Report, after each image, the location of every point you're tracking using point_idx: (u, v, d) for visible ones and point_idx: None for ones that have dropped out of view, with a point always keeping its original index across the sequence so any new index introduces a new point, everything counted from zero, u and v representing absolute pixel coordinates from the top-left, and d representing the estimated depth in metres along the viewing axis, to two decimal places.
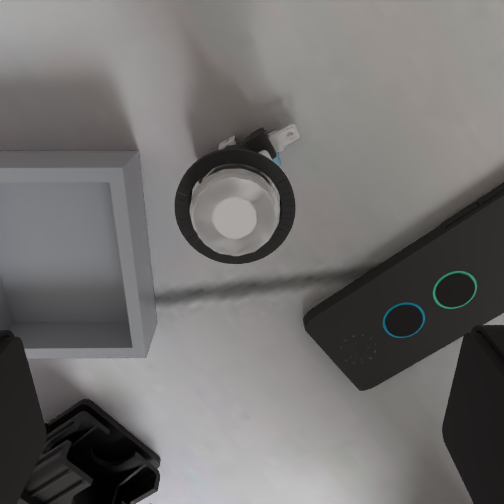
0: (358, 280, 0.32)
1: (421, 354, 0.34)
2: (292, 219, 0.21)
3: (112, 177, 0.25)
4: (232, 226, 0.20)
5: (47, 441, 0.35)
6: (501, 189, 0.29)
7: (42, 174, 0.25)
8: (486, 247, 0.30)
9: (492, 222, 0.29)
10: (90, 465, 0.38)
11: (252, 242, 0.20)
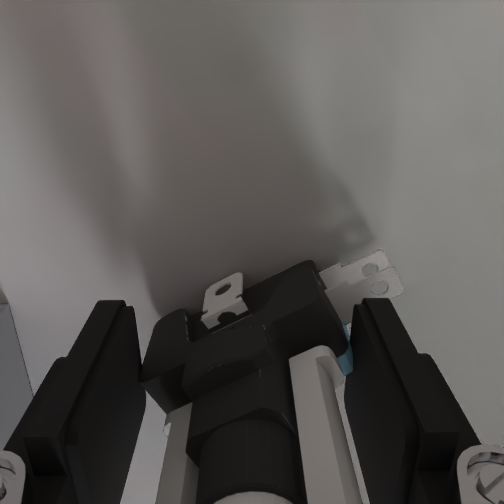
0: None
1: None
2: None
3: None
4: None
5: None
6: None
7: None
8: None
9: None
10: None
11: None
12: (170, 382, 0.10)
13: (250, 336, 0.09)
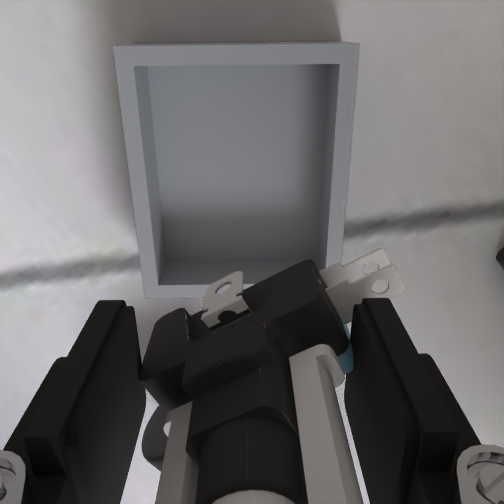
0: None
1: None
2: None
3: (344, 57, 0.20)
4: None
5: None
6: None
7: (259, 53, 0.20)
8: None
9: None
10: None
11: None
12: (170, 381, 0.10)
13: (250, 334, 0.09)
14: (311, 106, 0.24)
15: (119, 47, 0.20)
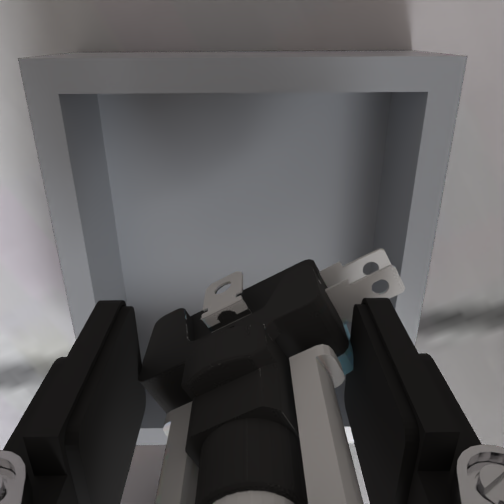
0: None
1: None
2: None
3: (438, 80, 0.11)
4: None
5: None
6: None
7: (283, 73, 0.11)
8: None
9: None
10: None
11: None
12: (170, 381, 0.10)
13: (250, 335, 0.09)
14: (361, 153, 0.15)
15: (31, 60, 0.11)
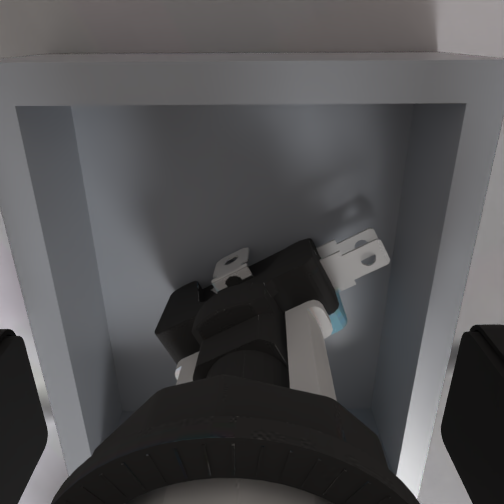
0: None
1: None
2: None
3: (479, 89, 0.09)
4: None
5: None
6: None
7: (290, 80, 0.09)
8: None
9: None
10: None
11: None
12: (182, 334, 0.12)
13: (252, 289, 0.11)
14: (378, 171, 0.13)
15: None
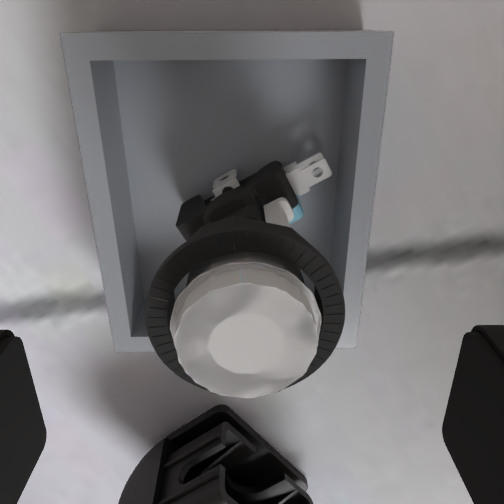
0: None
1: None
2: (339, 333, 0.13)
3: (373, 50, 0.15)
4: (243, 356, 0.12)
5: (179, 464, 0.25)
6: None
7: (258, 44, 0.15)
8: None
9: None
10: None
11: (276, 378, 0.12)
12: (195, 225, 0.18)
13: (241, 191, 0.17)
14: (324, 112, 0.19)
15: (69, 35, 0.15)
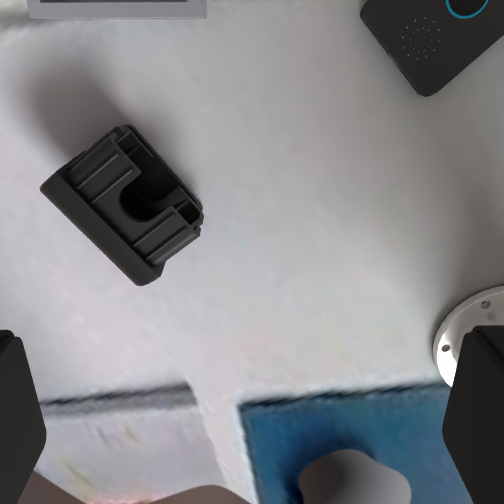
0: None
1: (488, 40, 0.32)
2: None
3: None
4: None
5: None
6: None
7: None
8: None
9: None
10: (132, 200, 0.36)
11: None
12: None
13: None
14: None
15: None
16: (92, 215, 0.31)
